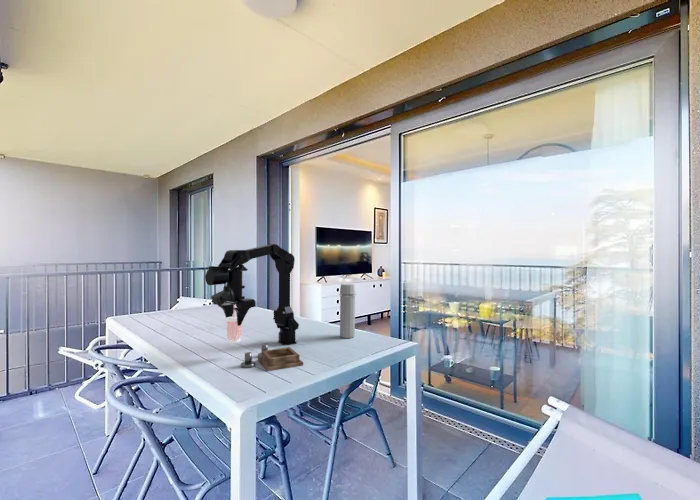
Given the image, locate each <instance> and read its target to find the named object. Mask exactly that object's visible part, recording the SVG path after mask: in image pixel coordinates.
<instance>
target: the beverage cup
mask: <svg viewBox="0 0 700 500" xmlns="http://www.w3.org/2000/svg"><path fill="white" fill-rule="evenodd" d="M234 308H236V304H235V305H234ZM225 322H226V324H225V325H226V337H227V338H226V339H227V343H228V344H237V343H240V342H241V336H242V324H241V325H240V326H238V324H237V315H236V311H235V310H234V312H233V316H232V317H227V318H226V317H225Z"/></svg>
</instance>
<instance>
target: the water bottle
mask: <svg viewBox="0 0 700 500" xmlns="http://www.w3.org/2000/svg"><path fill="white" fill-rule="evenodd" d="M338 295H339V296H340V298H339V299H340V300H339V303H340V304H339V305H340V307H339V308H340V309H339V313H340V314H339V320H340V321H339V336H340V338H343V339H352V338H354V337H355V335H356V333H355V331H356V295H357V294H356V288H355V284H354V283H340V288H339V294H338Z"/></svg>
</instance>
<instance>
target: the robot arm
mask: <svg viewBox="0 0 700 500" xmlns="http://www.w3.org/2000/svg"><path fill="white" fill-rule="evenodd" d="M268 255H269V257H270V258H271V259H272V260H273V261H274V264H275V269H276V270H277V273H278V306H277V309H274V310H273V318H272V319H273V321H274V323H275V324H276V328H277V329H279V332H278V342H279V343H280V344H281V345H283V346H284V345H292V344H297V341H296V331H297V330H298V329H299V326H300V324H299V322H298V321H297V320H296V319H295V315H294V311H293V309H292V306H291V273H292V271H293V269H295V268H294V267H295V259H296V258H295V255H293V253H290V252H289V251H288V250H285V249H284V248H282V247H280V246H279V245H278V244H276V243H268V244H266V245H261V246H257V247H252V248H248V249H228V250H226V251H225V253H224V256H223V257H222V259H221V261H220V262H219V264H218V265H217V266H214V265H213V266H212V265H211V266H210V265H209V266H208V270H207V271H206V273H205V275H204V277H205V278H204V279H205V282H206V285H208V286H218V285H223V289H222V290H221V291H218V292H216V293H214V294H212V295H211V296H210V298H211V301H212V303H213V305H214V306H215V305H216V306H218V307H219V308H221V309H222V311H223V313H224V315H225V319H226V318H227V317H233V314H234V310H235V314H236V316H237V324H238V326H240V325H241V326H242V323H243V321H244V319H245V317H246V315H247V313H248V312H249V310H250V309H251V308H254V307H255V308H256V300H255V299H254V298H253V299H252V298H246V297H245V296H244V295H243V289H245V287H246V285H244V284H243V272H246V271H248V268H247V267H246V266H245V265H244V264H246V263H248V262H249V261H250V260H253V259H257V258H262V257H265V256H268ZM225 284H226V285H225ZM234 305H235V308H234Z"/></svg>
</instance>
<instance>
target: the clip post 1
mask: <svg viewBox="0 0 700 500" xmlns="http://www.w3.org/2000/svg"><path fill="white" fill-rule="evenodd" d="M254 367H256V362H255V361H254V360H253V353H252V352H250V351H248V352H245V353H244V361H243V362H241V363H240V368H243V369H251V368H254Z"/></svg>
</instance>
